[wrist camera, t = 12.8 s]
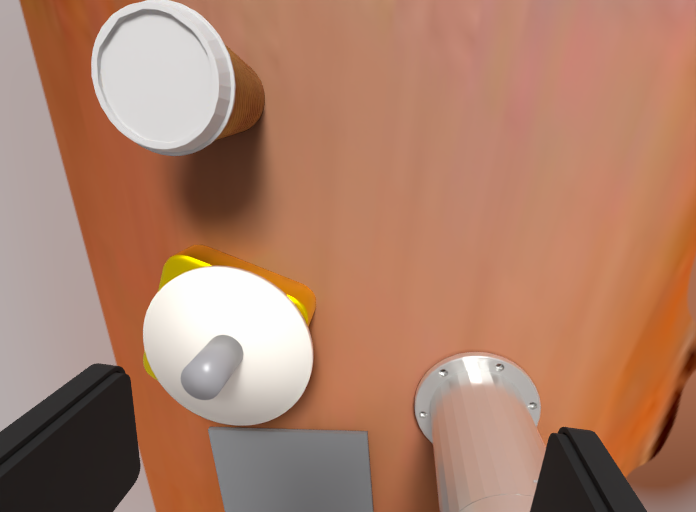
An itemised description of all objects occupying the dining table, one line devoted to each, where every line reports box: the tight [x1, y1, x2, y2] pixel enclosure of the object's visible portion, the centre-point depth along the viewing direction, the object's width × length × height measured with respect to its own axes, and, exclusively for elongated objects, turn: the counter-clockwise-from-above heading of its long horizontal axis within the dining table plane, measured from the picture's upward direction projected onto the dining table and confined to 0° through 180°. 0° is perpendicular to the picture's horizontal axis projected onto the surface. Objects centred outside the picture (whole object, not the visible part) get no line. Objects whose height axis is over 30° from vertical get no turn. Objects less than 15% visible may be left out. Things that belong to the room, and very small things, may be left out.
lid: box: [143, 265, 314, 426], centre depth 36 cm, size 17×17×6 cm
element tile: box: [143, 245, 316, 380], centre depth 42 cm, size 15×15×5 cm
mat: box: [208, 427, 373, 512], centre depth 49 cm, size 19×19×1 cm
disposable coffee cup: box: [92, 0, 265, 156], centre depth 31 cm, size 10×10×12 cm
